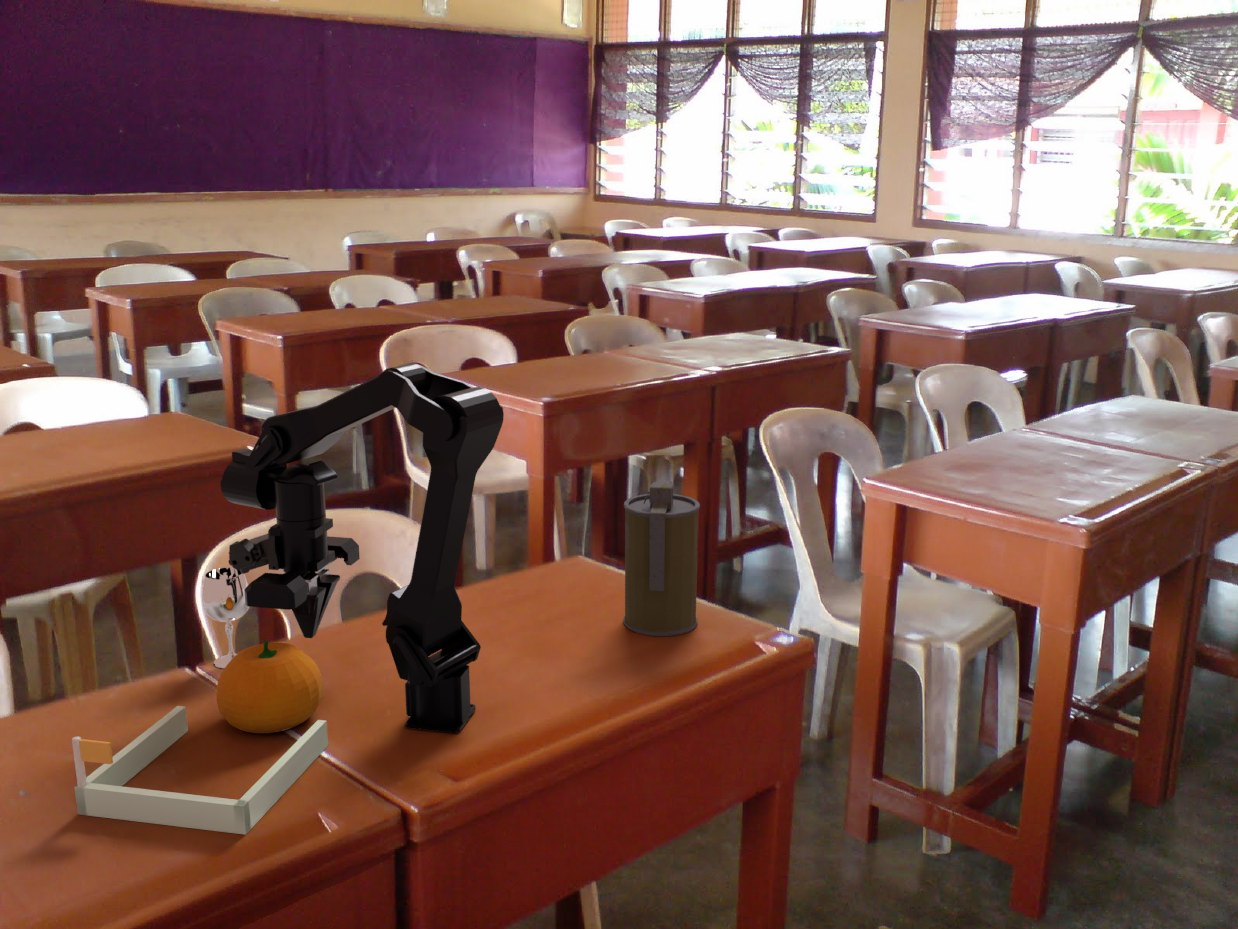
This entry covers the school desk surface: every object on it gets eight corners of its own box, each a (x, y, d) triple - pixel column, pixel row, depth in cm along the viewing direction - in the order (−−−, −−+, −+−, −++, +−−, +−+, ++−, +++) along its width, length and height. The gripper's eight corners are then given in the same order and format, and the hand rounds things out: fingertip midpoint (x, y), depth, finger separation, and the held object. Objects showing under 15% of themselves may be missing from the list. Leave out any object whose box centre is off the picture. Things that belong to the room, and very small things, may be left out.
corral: (328, 745, 128) (323, 678, 126) (245, 834, 111) (239, 758, 109) (180, 730, 131) (173, 664, 129) (77, 814, 114) (68, 740, 112)
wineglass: (241, 672, 146) (233, 582, 143) (199, 668, 147) (191, 579, 144) (263, 654, 152) (256, 567, 149) (223, 650, 153) (215, 564, 150)
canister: (628, 607, 168) (629, 473, 163) (700, 610, 167) (702, 476, 162) (618, 635, 158) (618, 494, 153) (694, 640, 156) (697, 497, 151)
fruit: (344, 719, 134) (339, 638, 131) (252, 755, 126) (245, 670, 123) (290, 689, 142) (284, 612, 139) (200, 721, 134) (192, 640, 131)
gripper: (276, 490, 149) (285, 605, 152) (196, 534, 131) (208, 662, 135) (357, 495, 146) (364, 611, 150) (287, 540, 129) (297, 670, 133)
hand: (309, 637), depth 142 cm, fingers closed
